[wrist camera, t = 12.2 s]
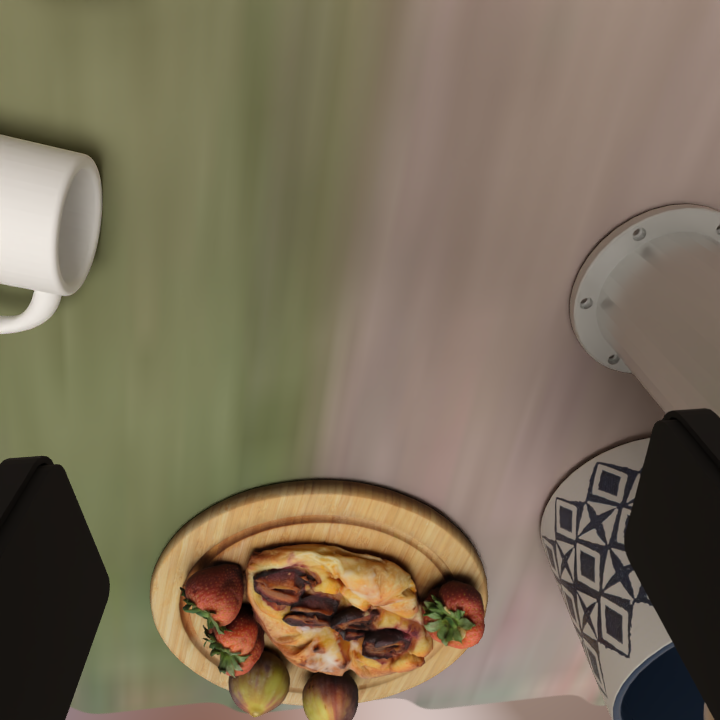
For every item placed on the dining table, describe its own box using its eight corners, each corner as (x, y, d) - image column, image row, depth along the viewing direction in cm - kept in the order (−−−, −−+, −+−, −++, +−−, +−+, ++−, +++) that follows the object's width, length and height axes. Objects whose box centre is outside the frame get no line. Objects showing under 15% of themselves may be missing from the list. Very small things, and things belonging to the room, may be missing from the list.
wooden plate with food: (506, 469, 51) (533, 545, 44) (465, 685, 67) (480, 765, 60) (126, 472, 50) (91, 550, 43) (178, 691, 66) (159, 773, 59)
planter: (557, 433, 49) (652, 610, 35) (772, 427, 50) (948, 598, 36) (523, 579, 58) (586, 765, 44) (703, 573, 59) (821, 752, 45)
